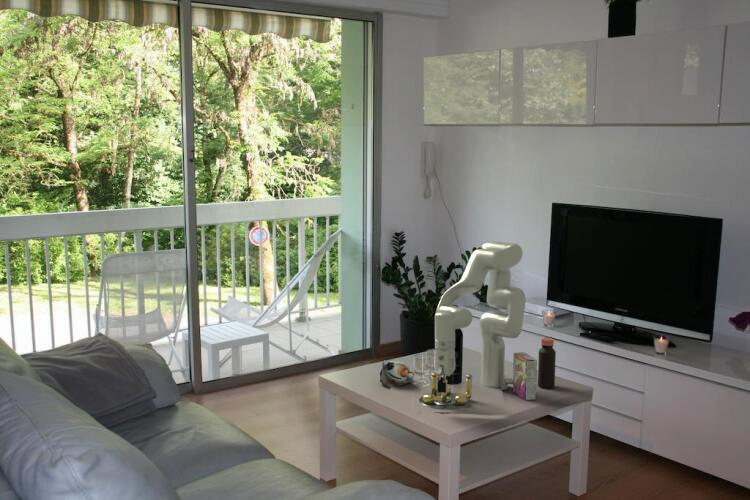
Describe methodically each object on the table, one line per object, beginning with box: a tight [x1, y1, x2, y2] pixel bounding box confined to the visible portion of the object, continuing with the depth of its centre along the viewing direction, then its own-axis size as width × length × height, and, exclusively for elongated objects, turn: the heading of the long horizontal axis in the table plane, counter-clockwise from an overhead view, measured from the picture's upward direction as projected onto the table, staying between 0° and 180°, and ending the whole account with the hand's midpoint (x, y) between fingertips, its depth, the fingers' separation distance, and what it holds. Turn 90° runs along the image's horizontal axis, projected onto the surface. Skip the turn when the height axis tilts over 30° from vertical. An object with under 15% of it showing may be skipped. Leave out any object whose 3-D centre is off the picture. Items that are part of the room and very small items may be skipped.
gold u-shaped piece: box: [430, 372, 452, 396], centre depth 304 cm, size 9×4×10 cm, turn 128°
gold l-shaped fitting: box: [422, 379, 448, 404], centre depth 295 cm, size 9×4×10 cm, turn 67°
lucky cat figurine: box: [379, 359, 415, 389], centre depth 322 cm, size 15×12×14 cm
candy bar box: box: [512, 351, 538, 401], centre depth 308 cm, size 11×5×16 cm, turn 17°
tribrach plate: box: [418, 392, 472, 415], centre depth 300 cm, size 20×20×3 cm
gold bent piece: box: [455, 373, 473, 405], centre depth 297 cm, size 9×4×10 cm, turn 144°
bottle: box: [537, 337, 557, 390], centre depth 320 cm, size 7×7×20 cm
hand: (445, 387), depth 294 cm, fingers open, 9 cm apart
